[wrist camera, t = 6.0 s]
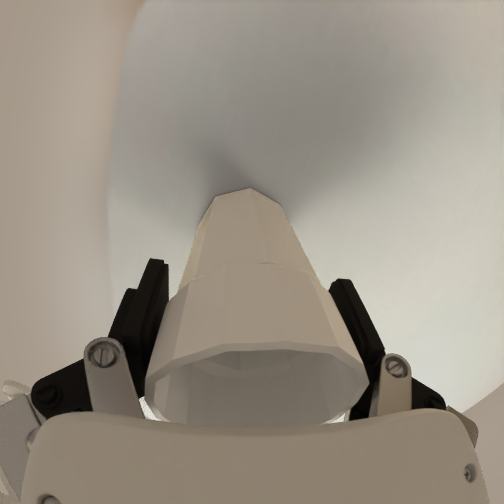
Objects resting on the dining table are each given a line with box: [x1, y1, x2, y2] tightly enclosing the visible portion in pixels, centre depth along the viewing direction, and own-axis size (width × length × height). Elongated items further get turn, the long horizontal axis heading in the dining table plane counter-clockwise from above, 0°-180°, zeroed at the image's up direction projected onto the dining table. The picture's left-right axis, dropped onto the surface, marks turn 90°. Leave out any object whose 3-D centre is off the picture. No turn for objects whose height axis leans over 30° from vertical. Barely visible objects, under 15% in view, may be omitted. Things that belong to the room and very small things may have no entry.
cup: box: [144, 188, 369, 428], centre depth 12 cm, size 7×7×11 cm
